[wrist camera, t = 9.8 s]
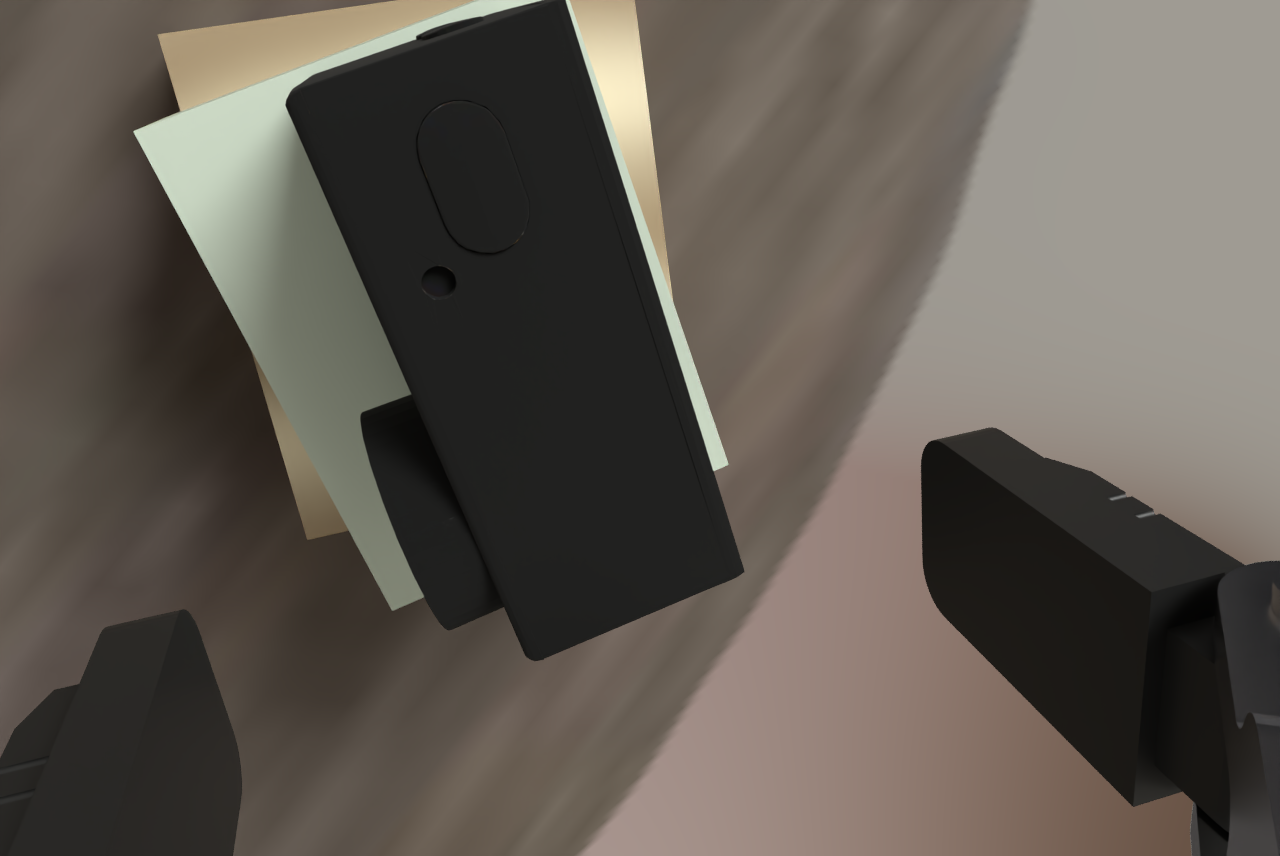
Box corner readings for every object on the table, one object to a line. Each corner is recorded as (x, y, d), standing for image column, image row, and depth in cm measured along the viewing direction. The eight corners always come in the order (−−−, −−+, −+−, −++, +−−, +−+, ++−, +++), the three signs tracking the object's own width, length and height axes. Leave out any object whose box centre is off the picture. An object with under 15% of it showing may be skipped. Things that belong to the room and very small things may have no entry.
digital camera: (242, 91, 20) (192, 115, 14) (500, 3, 21) (563, -12, 15) (438, 527, 25) (468, 696, 18) (649, 443, 25) (748, 577, 19)
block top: (168, 116, 24) (133, 130, 20) (530, -21, 25) (559, -31, 21) (388, 537, 29) (392, 610, 25) (684, 411, 30) (728, 464, 26)
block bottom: (185, 34, 27) (157, 34, 23) (596, -25, 29) (630, -33, 25) (313, 482, 32) (307, 540, 28) (656, 406, 34) (691, 451, 30)
